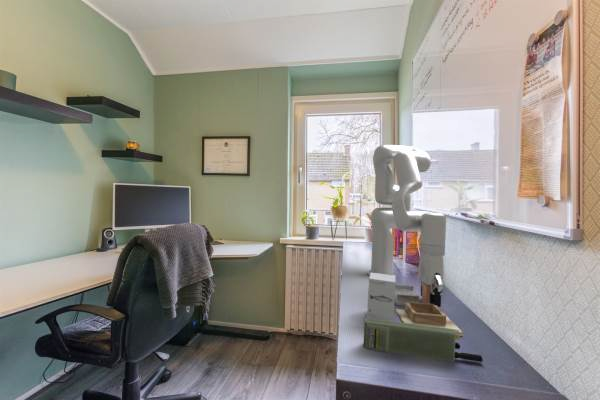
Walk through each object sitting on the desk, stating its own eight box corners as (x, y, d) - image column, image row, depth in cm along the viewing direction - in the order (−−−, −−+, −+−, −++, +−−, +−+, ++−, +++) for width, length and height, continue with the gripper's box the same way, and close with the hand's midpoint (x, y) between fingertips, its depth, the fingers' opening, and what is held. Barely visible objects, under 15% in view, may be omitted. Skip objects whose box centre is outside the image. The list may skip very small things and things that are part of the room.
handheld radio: (363, 342, 64) (477, 359, 59) (363, 351, 61) (484, 369, 55) (364, 316, 64) (479, 330, 58) (364, 322, 60) (486, 338, 55)
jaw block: (421, 302, 90) (422, 282, 90) (433, 303, 90) (434, 283, 90) (425, 307, 86) (426, 286, 86) (438, 308, 86) (439, 287, 86)
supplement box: (366, 322, 74) (367, 278, 74) (368, 312, 81) (370, 271, 81) (393, 327, 71) (395, 281, 71) (394, 316, 78) (395, 274, 78)
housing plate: (391, 296, 95) (391, 283, 95) (411, 297, 94) (412, 285, 94) (396, 305, 87) (397, 291, 87) (419, 306, 86) (419, 293, 86)
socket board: (395, 311, 82) (396, 300, 82) (443, 316, 80) (443, 304, 80) (406, 331, 70) (407, 317, 70) (462, 336, 68) (463, 322, 68)
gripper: (412, 244, 97) (410, 291, 97) (430, 253, 80) (427, 311, 80) (433, 245, 96) (432, 293, 96) (456, 255, 79) (453, 313, 79)
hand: (430, 301), depth 88 cm, fingers open, 7 cm apart
